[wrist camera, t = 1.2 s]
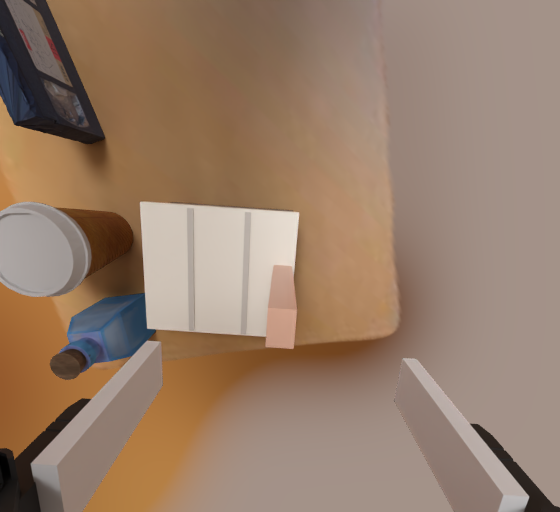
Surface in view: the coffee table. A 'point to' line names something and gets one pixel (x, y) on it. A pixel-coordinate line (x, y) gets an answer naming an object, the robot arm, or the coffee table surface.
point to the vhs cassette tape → (42, 75)
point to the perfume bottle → (103, 334)
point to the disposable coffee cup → (57, 246)
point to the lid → (220, 270)
